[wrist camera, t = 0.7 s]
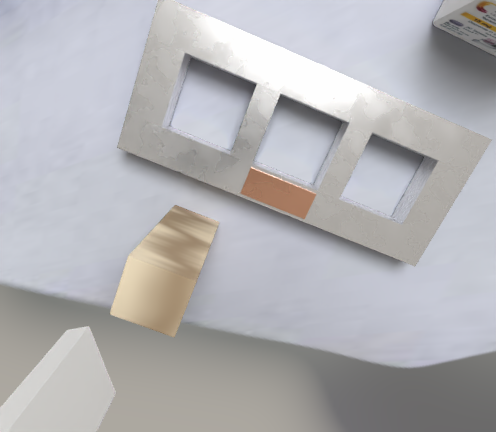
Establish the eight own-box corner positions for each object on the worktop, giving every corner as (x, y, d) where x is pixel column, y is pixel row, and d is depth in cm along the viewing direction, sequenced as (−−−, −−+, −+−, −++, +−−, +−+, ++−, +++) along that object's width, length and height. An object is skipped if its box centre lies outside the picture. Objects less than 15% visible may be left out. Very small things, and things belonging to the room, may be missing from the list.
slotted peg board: (128, 144, 31) (116, 147, 29) (168, 4, 28) (158, -7, 25) (404, 255, 33) (416, 267, 31) (473, 137, 30) (493, 140, 27)
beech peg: (161, 245, 34) (109, 314, 22) (175, 204, 33) (128, 255, 21) (203, 261, 34) (174, 337, 23) (219, 222, 33) (196, 281, 22)
